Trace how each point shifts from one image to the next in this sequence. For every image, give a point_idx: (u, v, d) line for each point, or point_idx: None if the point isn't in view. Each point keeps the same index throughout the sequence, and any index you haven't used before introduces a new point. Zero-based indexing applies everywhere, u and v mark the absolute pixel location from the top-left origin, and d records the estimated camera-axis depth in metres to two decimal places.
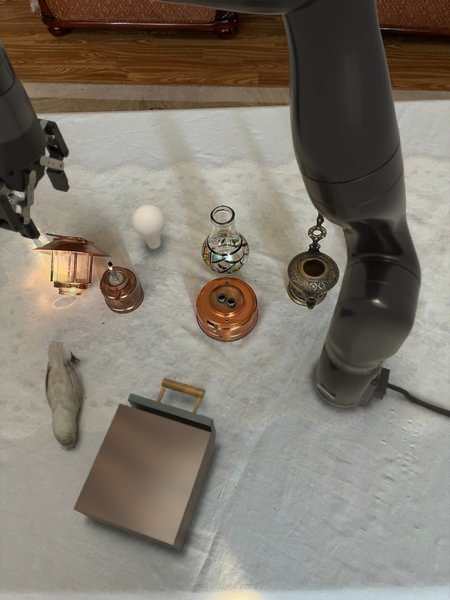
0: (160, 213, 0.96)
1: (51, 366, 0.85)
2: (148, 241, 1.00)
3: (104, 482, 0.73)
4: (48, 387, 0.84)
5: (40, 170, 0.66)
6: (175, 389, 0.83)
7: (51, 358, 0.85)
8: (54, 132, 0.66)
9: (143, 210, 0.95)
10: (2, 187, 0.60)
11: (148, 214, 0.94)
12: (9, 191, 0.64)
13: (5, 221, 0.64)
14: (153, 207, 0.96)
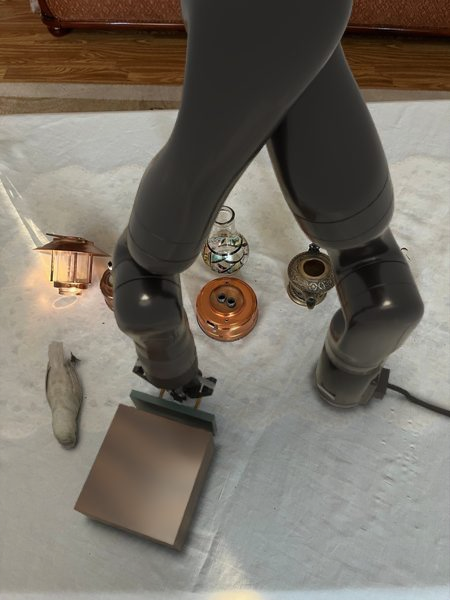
0: None
1: (51, 366, 0.85)
2: None
3: (104, 482, 0.73)
4: (48, 387, 0.84)
5: None
6: None
7: (51, 358, 0.85)
8: (203, 393, 0.75)
9: None
10: (142, 365, 0.76)
11: None
12: None
13: None
14: None
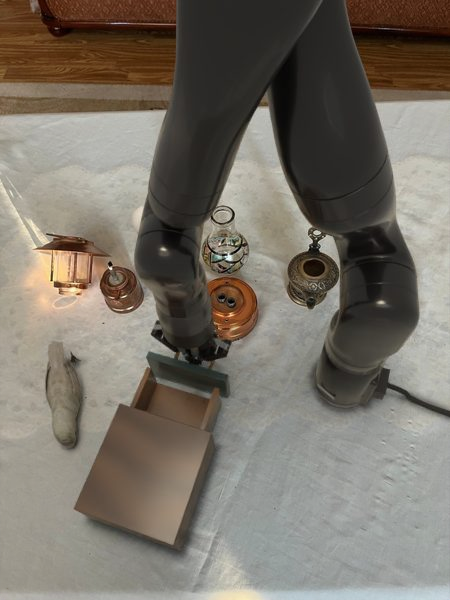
0: None
1: (51, 366, 0.85)
2: None
3: (104, 482, 0.73)
4: (48, 387, 0.84)
5: None
6: None
7: (51, 358, 0.85)
8: (218, 354, 0.78)
9: None
10: (160, 328, 0.79)
11: None
12: None
13: None
14: None
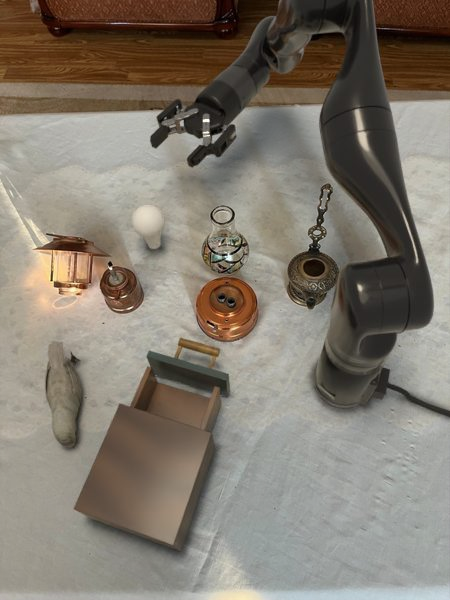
0: (160, 213, 0.96)
1: (51, 366, 0.85)
2: (148, 241, 1.00)
3: (104, 482, 0.73)
4: (48, 387, 0.84)
5: (199, 125, 0.92)
6: (191, 348, 0.87)
7: (51, 358, 0.85)
8: (228, 128, 0.91)
9: (143, 210, 0.95)
10: (185, 106, 0.96)
11: (148, 214, 0.94)
12: (183, 127, 0.96)
13: None
14: (153, 207, 0.96)
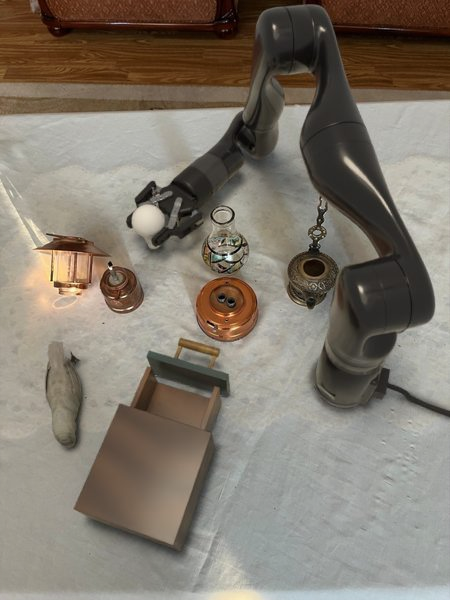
0: (160, 213, 0.96)
1: (51, 366, 0.85)
2: (148, 241, 1.00)
3: (104, 482, 0.73)
4: (48, 387, 0.84)
5: (172, 207, 0.99)
6: (191, 348, 0.87)
7: (51, 358, 0.85)
8: (195, 215, 0.98)
9: (143, 210, 0.95)
10: (160, 187, 1.03)
11: (148, 214, 0.94)
12: None
13: None
14: (153, 207, 0.96)
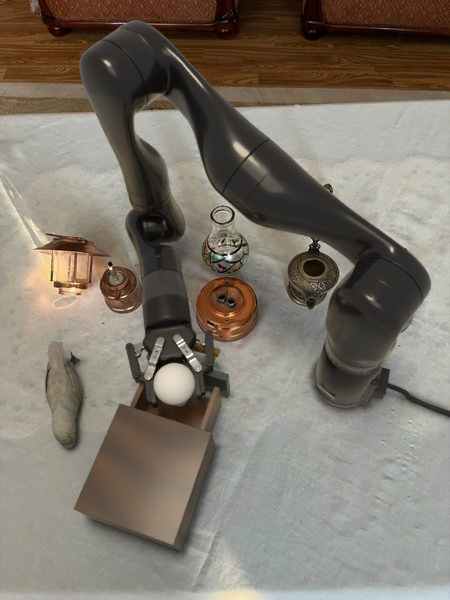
0: (182, 365, 0.77)
1: (51, 366, 0.85)
2: None
3: (104, 482, 0.73)
4: (48, 387, 0.84)
5: (177, 350, 0.80)
6: None
7: (51, 358, 0.85)
8: (206, 337, 0.81)
9: (170, 378, 0.75)
10: (138, 343, 0.82)
11: (179, 377, 0.75)
12: None
13: None
14: (172, 366, 0.76)
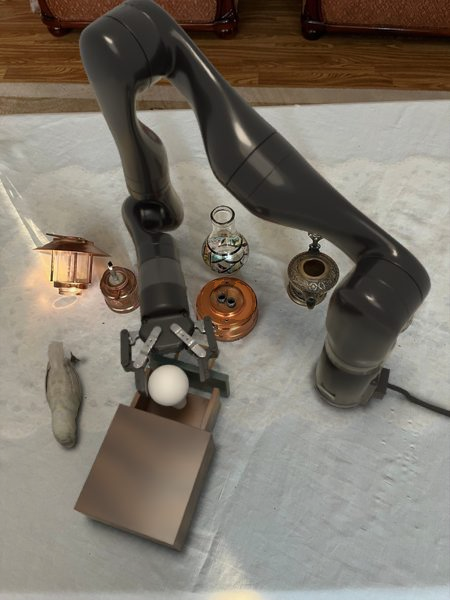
0: (175, 367, 0.78)
1: (51, 366, 0.85)
2: (179, 403, 0.82)
3: (104, 482, 0.73)
4: (48, 387, 0.84)
5: (174, 340, 0.77)
6: None
7: (51, 358, 0.85)
8: (205, 323, 0.78)
9: (161, 379, 0.76)
10: (134, 331, 0.79)
11: (170, 377, 0.76)
12: (150, 352, 0.79)
13: None
14: (164, 368, 0.78)
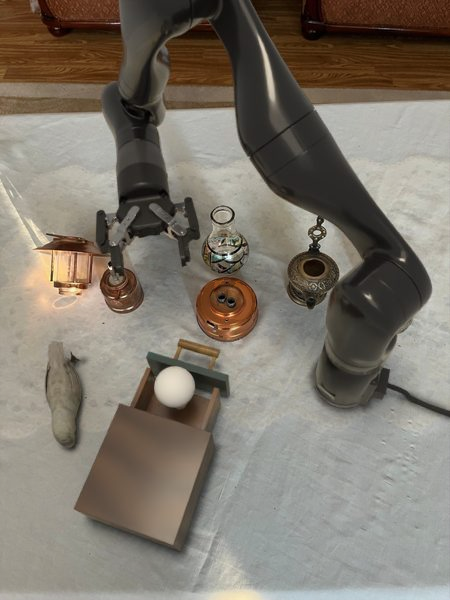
0: (182, 369, 0.78)
1: (51, 366, 0.85)
2: None
3: (104, 482, 0.73)
4: (48, 387, 0.84)
5: (153, 220, 0.73)
6: (191, 349, 0.87)
7: (51, 358, 0.85)
8: (186, 203, 0.74)
9: (170, 381, 0.76)
10: (111, 213, 0.75)
11: (179, 380, 0.76)
12: (128, 235, 0.75)
13: None
14: (172, 369, 0.77)
